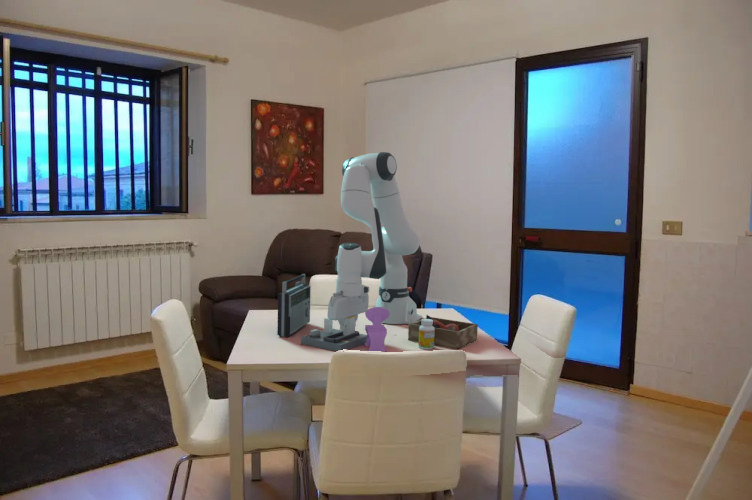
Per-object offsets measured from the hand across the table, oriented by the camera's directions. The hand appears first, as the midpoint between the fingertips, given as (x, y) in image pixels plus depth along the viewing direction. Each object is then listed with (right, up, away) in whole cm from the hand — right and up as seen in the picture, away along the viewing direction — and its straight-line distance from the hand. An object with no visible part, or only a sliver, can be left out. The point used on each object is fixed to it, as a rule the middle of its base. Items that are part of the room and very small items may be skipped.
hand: (347, 328), depth 212 cm
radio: (-21, -3, +17) cm, 27 cm away
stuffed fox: (+34, -5, +9) cm, 36 cm away
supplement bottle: (+27, -7, -3) cm, 28 cm away
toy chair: (+10, -6, -6) cm, 13 cm away
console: (-4, -5, -1) cm, 7 cm away
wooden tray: (+34, -5, +8) cm, 36 cm away
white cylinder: (0, -3, +1) cm, 3 cm away
